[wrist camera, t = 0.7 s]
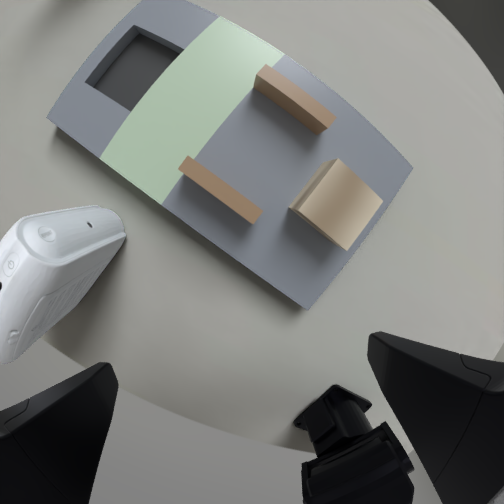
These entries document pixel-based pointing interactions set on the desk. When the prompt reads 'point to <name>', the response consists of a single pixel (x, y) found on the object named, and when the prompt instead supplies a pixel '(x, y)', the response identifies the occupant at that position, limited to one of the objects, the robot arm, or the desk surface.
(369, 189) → the birch block
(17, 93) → the desk surface
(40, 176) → the desk surface
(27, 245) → the photo printer
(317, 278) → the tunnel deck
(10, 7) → the desk surface
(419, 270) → the desk surface
